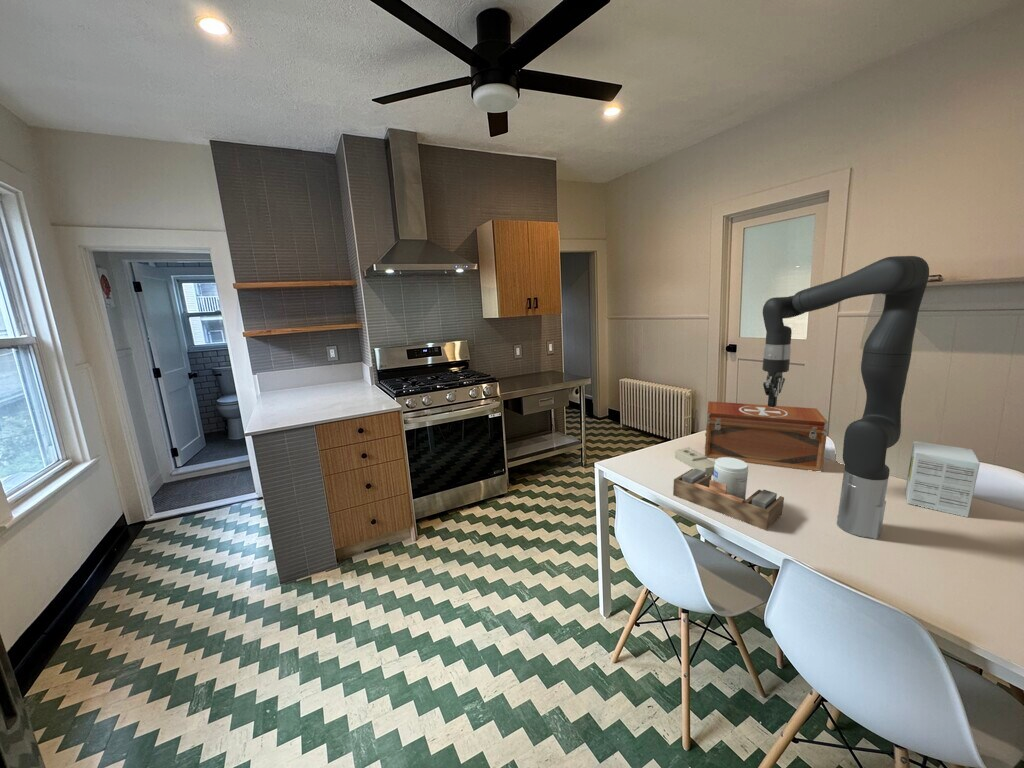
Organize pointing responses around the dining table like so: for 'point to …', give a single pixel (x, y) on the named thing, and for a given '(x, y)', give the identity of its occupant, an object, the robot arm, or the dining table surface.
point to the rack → (729, 499)
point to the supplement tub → (732, 475)
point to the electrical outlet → (695, 460)
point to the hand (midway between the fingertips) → (771, 406)
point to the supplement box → (942, 477)
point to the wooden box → (766, 435)
